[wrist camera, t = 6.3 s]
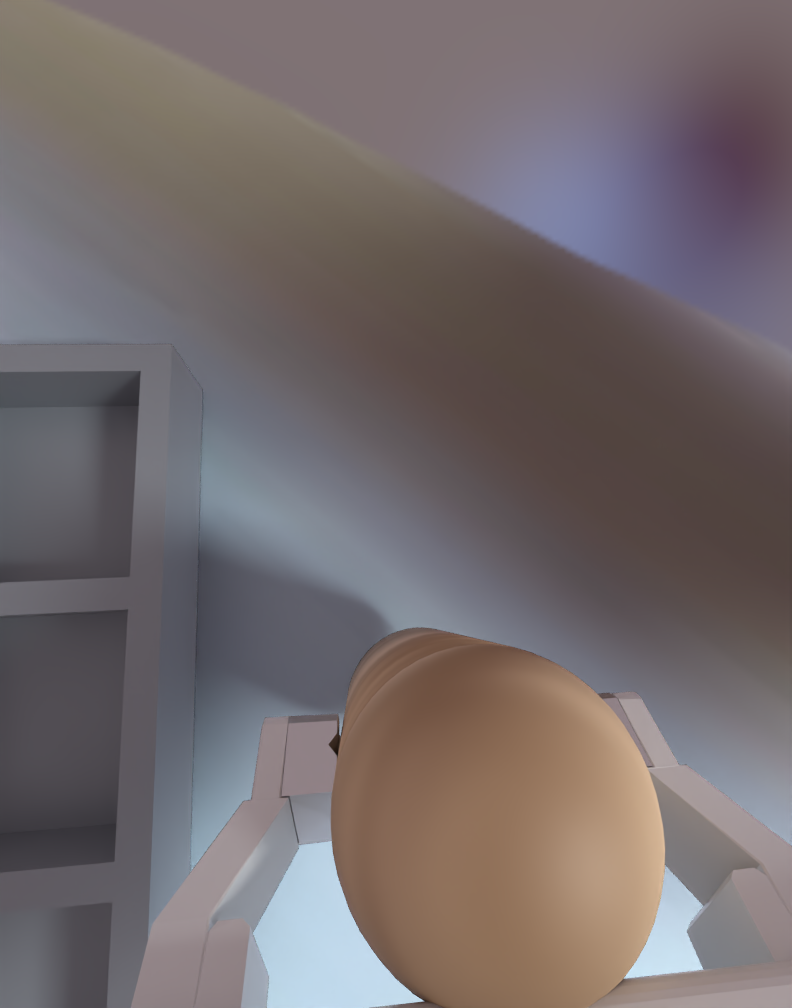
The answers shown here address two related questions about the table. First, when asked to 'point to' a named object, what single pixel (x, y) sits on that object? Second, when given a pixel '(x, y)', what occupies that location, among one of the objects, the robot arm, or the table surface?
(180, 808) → the grey compartment tray
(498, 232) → the table surface
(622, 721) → the robot arm
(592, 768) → the tan domed cylinder
